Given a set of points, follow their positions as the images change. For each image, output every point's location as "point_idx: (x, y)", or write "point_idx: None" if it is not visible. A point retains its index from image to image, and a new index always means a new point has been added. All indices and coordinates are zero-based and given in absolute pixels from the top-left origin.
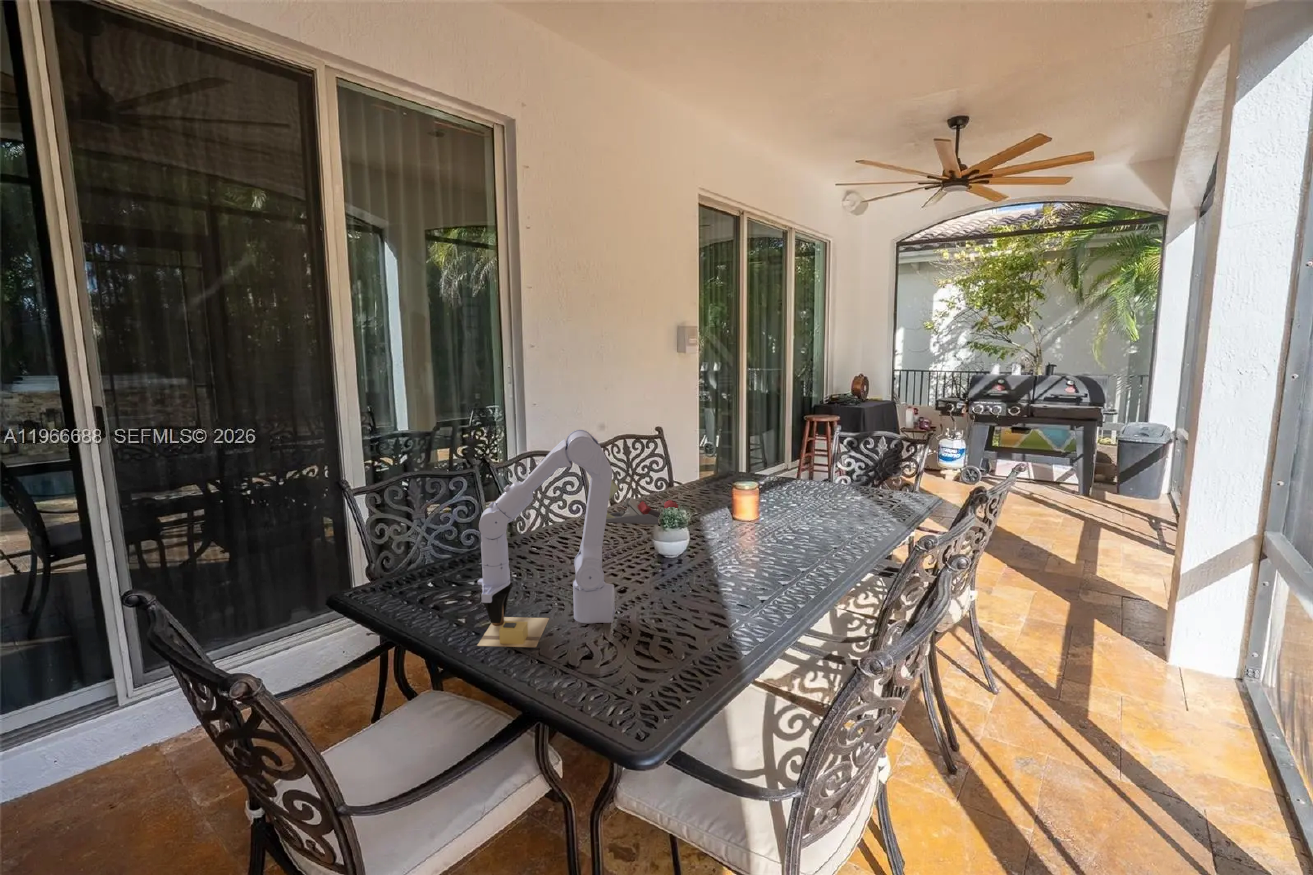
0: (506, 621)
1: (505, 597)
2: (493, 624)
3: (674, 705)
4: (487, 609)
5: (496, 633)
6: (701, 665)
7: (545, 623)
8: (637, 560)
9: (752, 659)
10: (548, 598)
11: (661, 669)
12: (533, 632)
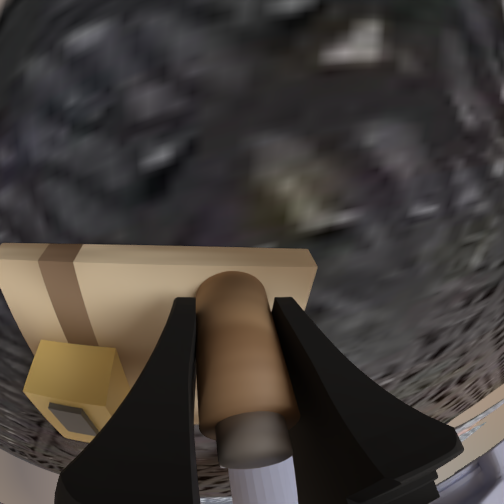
0: (106, 411)
1: (296, 452)
2: (201, 288)
3: (50, 467)
4: (136, 386)
5: (110, 316)
6: None
7: None
8: (469, 402)
9: None
10: (427, 355)
11: None
12: None
